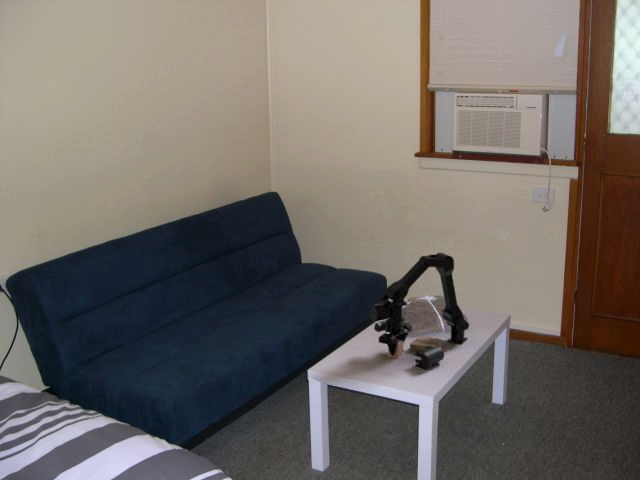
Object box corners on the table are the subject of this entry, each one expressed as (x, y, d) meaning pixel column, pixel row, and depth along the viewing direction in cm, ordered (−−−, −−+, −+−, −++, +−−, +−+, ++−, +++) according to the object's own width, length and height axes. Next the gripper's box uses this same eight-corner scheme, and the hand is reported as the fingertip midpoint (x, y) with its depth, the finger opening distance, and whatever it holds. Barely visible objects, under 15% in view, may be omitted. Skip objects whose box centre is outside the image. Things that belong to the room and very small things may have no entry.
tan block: (420, 342, 323) (420, 335, 322) (442, 346, 318) (442, 339, 317) (410, 350, 315) (410, 343, 314) (432, 355, 310) (432, 348, 309)
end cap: (428, 371, 295) (428, 355, 293) (414, 366, 300) (414, 350, 298) (444, 363, 301) (444, 347, 300) (430, 358, 306) (430, 343, 305)
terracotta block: (393, 352, 314) (393, 338, 312) (403, 354, 311) (403, 340, 310) (388, 356, 310) (388, 342, 309) (398, 358, 308) (398, 344, 306)
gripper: (388, 306, 318) (388, 341, 322) (366, 320, 303) (367, 357, 307) (412, 310, 313) (412, 346, 316) (391, 325, 297) (392, 362, 301)
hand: (395, 352), depth 311 cm, fingers open, 5 cm apart
